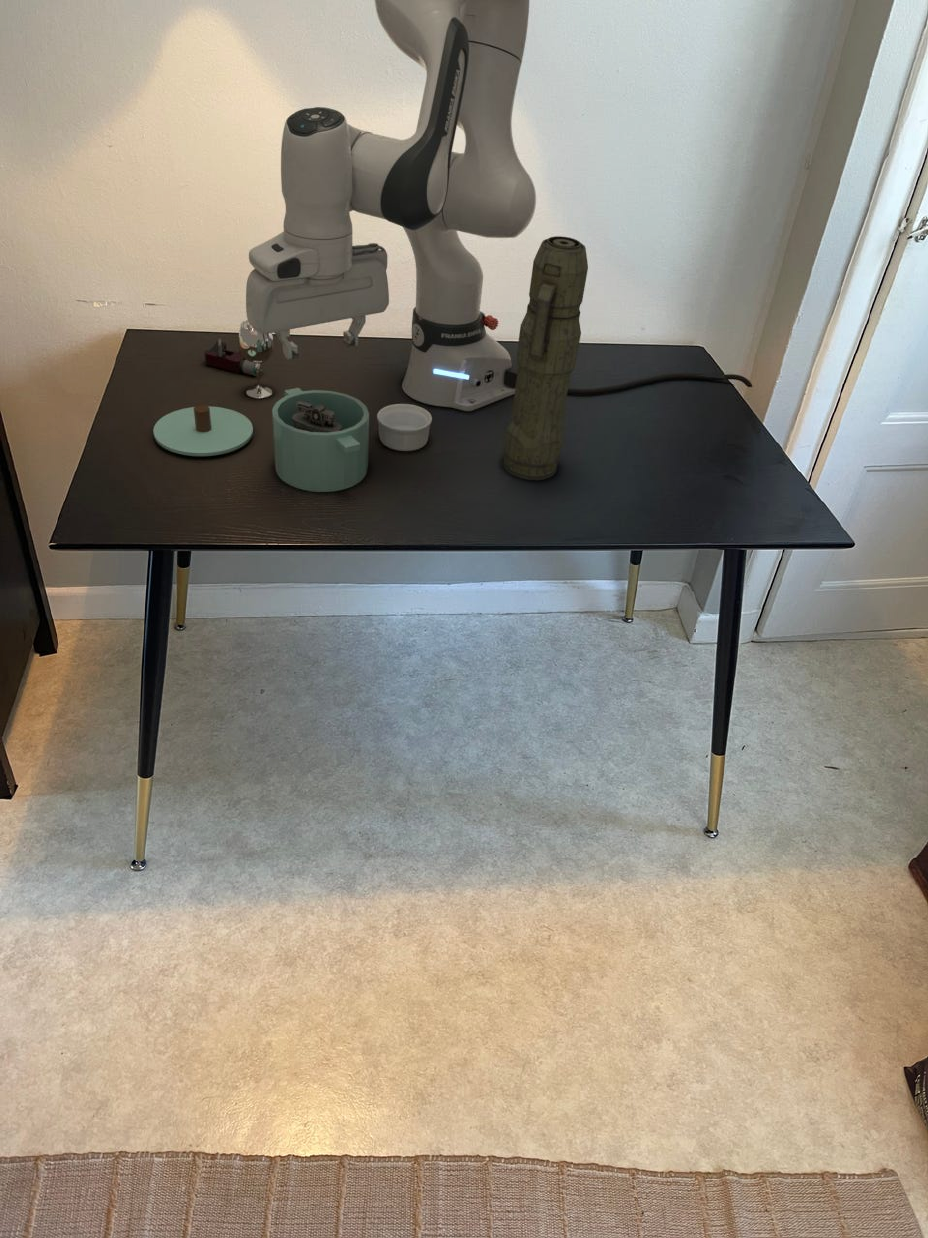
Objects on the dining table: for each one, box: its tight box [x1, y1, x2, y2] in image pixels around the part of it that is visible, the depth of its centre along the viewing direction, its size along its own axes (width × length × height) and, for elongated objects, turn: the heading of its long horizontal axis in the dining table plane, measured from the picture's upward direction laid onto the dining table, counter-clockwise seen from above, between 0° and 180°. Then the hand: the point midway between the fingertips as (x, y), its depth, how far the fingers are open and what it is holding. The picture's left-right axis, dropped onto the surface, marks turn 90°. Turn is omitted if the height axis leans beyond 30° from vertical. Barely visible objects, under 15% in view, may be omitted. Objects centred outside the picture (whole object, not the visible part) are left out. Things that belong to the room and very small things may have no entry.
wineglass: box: [238, 319, 275, 399], centre depth 152 cm, size 6×6×12 cm
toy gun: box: [204, 338, 262, 377], centre depth 163 cm, size 10×12×5 cm
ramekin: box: [376, 403, 433, 452], centre depth 146 cm, size 9×9×4 cm
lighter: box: [292, 401, 342, 433], centre depth 135 cm, size 8×3×10 cm, turn 67°
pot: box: [271, 387, 370, 493], centre depth 136 cm, size 14×19×10 cm
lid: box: [152, 404, 254, 457], centre depth 142 cm, size 15×15×5 cm
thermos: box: [502, 235, 589, 481], centre depth 134 cm, size 9×12×35 cm
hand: (321, 350), depth 127 cm, fingers open, 8 cm apart
